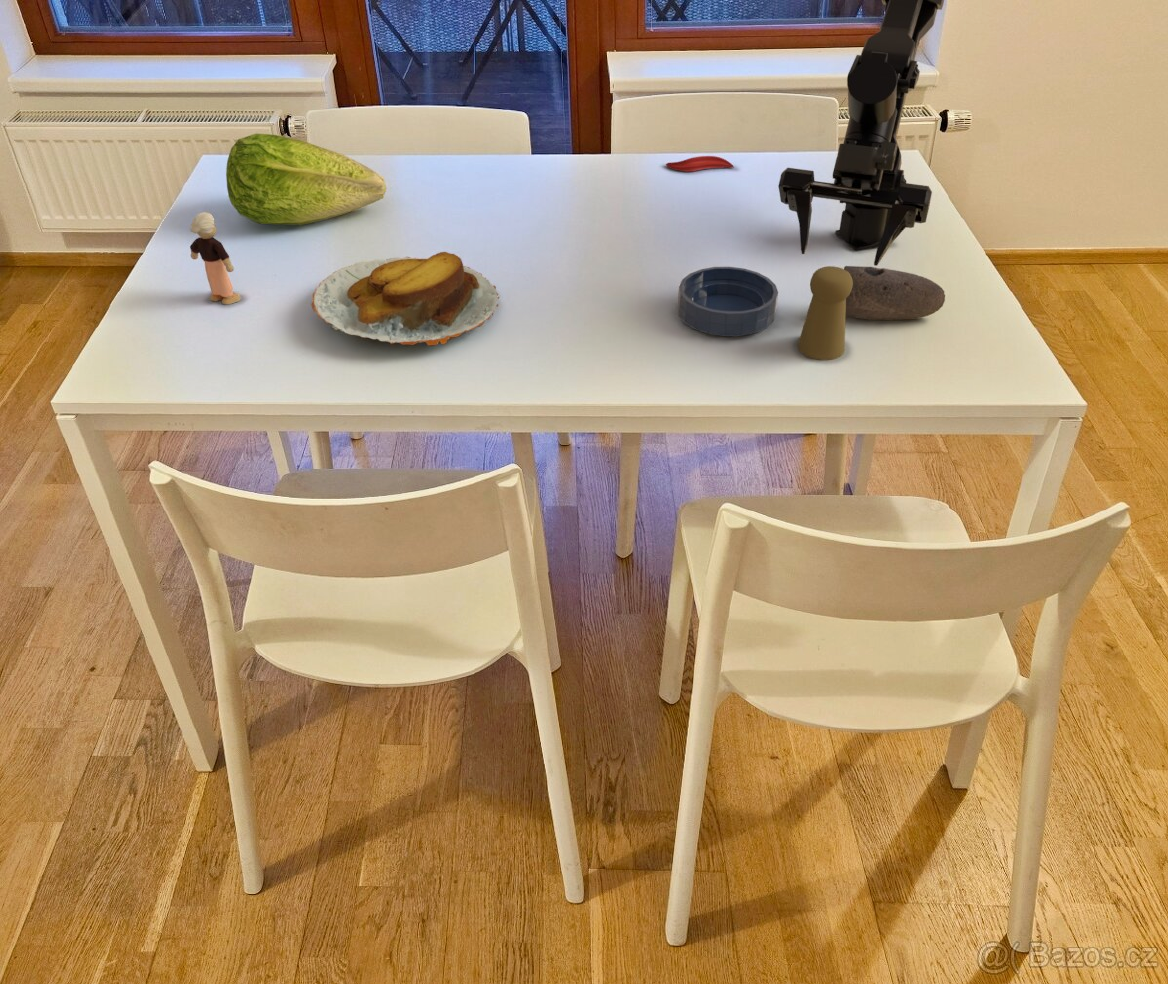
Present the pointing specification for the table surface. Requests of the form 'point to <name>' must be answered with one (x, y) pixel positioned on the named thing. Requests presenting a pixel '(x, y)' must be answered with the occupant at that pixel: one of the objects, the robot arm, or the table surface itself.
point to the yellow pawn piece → (826, 314)
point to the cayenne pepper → (700, 163)
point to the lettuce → (296, 181)
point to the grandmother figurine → (213, 259)
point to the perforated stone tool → (891, 294)
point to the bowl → (727, 301)
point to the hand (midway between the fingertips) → (838, 258)
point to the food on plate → (406, 299)
